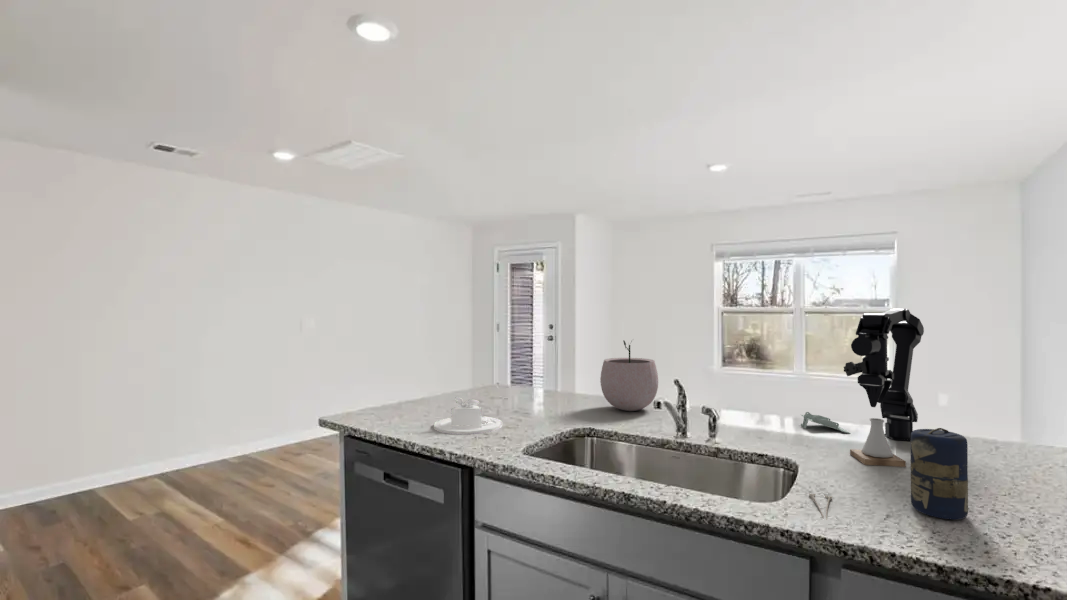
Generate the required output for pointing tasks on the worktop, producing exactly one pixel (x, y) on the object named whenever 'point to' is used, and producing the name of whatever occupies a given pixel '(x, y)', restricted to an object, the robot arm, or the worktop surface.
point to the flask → (877, 441)
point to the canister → (939, 473)
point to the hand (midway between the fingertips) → (876, 404)
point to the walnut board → (877, 459)
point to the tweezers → (818, 505)
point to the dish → (467, 419)
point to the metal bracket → (821, 421)
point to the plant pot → (629, 382)
